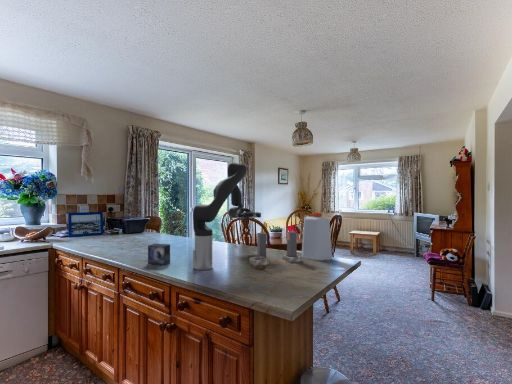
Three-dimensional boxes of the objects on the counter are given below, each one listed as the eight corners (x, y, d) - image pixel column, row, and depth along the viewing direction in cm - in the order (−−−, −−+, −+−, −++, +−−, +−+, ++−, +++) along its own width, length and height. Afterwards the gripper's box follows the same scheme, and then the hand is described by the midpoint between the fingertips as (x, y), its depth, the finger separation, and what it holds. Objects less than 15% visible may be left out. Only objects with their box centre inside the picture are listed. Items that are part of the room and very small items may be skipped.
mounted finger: (289, 261, 155) (289, 232, 155) (286, 259, 158) (286, 231, 159) (296, 260, 156) (296, 232, 156) (293, 259, 160) (293, 231, 160)
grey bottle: (318, 263, 156) (319, 213, 156) (298, 258, 167) (298, 212, 168) (334, 259, 165) (334, 212, 166) (314, 255, 177) (314, 211, 177)
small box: (147, 264, 153) (147, 245, 153) (154, 261, 159) (154, 243, 159) (164, 265, 150) (164, 246, 150) (170, 262, 157) (170, 244, 157)
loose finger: (259, 261, 160) (259, 233, 160) (257, 260, 164) (257, 232, 164) (267, 260, 162) (267, 233, 162) (264, 259, 166) (264, 232, 166)
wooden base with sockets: (255, 268, 145) (255, 261, 145) (249, 264, 153) (249, 257, 153) (302, 264, 155) (302, 256, 155) (294, 260, 163) (294, 253, 163)
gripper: (233, 208, 174) (241, 209, 159) (254, 207, 179) (264, 209, 164) (233, 220, 174) (241, 222, 159) (254, 219, 179) (264, 221, 164)
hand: (252, 216), depth 161 cm, fingers open, 8 cm apart
